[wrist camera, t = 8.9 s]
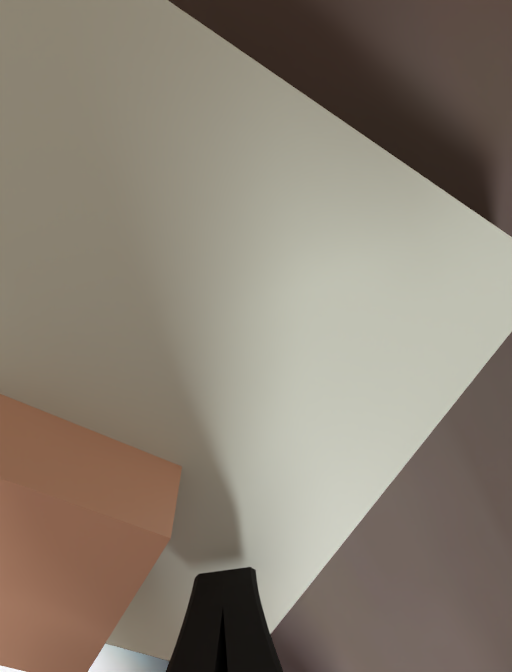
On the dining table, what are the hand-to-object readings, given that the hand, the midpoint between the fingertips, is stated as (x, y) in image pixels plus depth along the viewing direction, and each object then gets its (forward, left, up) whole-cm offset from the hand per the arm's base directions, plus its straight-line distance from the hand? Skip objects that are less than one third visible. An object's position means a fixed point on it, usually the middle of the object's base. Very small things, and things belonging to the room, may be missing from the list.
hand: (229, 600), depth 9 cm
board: (+5, -3, -3) cm, 6 cm away
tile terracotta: (+5, 0, -1) cm, 5 cm away
